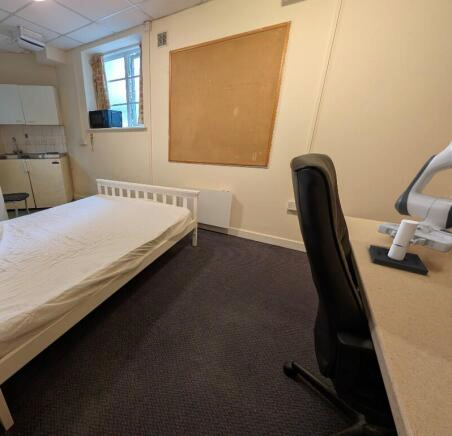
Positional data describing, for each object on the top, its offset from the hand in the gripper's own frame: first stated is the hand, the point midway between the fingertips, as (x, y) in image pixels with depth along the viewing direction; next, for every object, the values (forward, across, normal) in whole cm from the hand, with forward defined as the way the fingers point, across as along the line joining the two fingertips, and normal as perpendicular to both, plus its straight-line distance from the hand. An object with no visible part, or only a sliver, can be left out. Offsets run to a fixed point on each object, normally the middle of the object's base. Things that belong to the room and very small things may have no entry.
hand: (402, 239), depth 83 cm
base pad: (-1, 0, +10) cm, 10 cm away
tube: (-1, 0, +8) cm, 8 cm away
